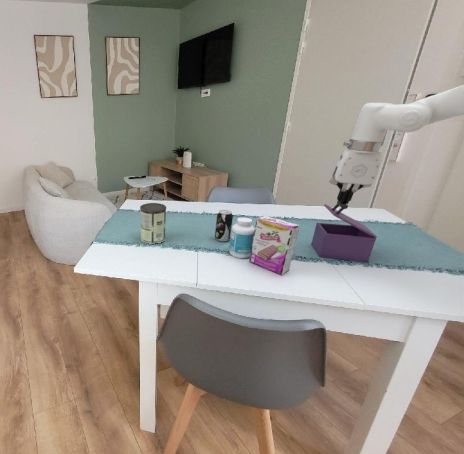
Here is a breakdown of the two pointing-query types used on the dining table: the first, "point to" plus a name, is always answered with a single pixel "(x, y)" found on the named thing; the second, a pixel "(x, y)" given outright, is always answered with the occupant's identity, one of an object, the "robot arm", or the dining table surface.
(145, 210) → the coffee can
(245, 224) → the pill bottle
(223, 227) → the beverage can
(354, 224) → the lid
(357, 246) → the box
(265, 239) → the candy bar box
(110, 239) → the dining table surface
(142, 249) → the dining table surface
